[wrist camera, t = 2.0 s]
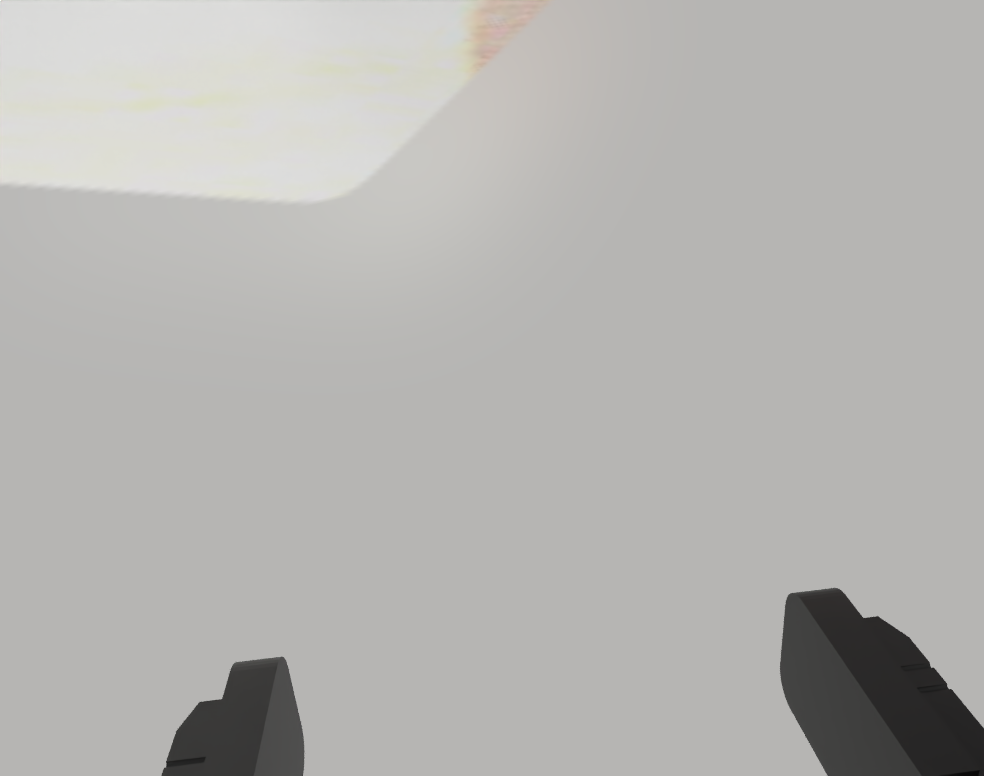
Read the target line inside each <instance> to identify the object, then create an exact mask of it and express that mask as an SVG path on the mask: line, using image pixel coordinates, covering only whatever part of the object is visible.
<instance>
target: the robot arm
mask: <svg viewBox="0 0 984 776" xmlns="http://www.w3.org/2000/svg"><path fill="white" fill-rule="evenodd" d="M780 674H781V682H782V686H783V690H784V694H785V697H786V700H787V702H788V705H789V707H790V709H791V711H792V713H793V714H794V716H795V718H796V720H797V721H798V723H799V725H800V727H801V729H802V730H803V732H804V734H805V736H806V738H807V739H808V741H809V743H810V745H811V747H812V748H813V750H814V752H815V754H816V756H817V757H818V759H819V761H820V763H821V764H822V766H823V768H824V770H825V772H826V773H827V775H828V776H984V728H983V727H982V726H981V725H980V723H979V722H978V721H977V720H976V719H975V717H974V716H973V715H972V714H971V712H970V711H969V710H968V709H967V707H966V706H965V705H964V704H963V703H962V701H961V700H960V699H959V698H958V697H957V695H956V694H955V693H954V692H953V690H951V689H948V687H947V683H946V682H945V681H944V680H943V678H942V677H941V676H940V675H939V673H938V672H937V671H936V670H935V669H934V668H931V667H930V663H929V661H928V660H927V659H926V657H925V656H924V655H923V654H922V653H921V651H920V650H919V649H918V648H917V647H916V645H915V644H914V643H913V642H912V640H911V639H910V638H909V637H908V636H906V635H905V634H903V633H902V632H900V631H899V630H897V629H896V628H894V627H893V626H891V625H890V624H888V623H887V622H885V621H884V620H882V619H881V618H879V617H878V616H877V617H870V618H863V617H862V616H861V615H860V613H859V612H858V611H857V609H856V608H855V607H854V606H853V604H852V603H851V602H850V600H849V599H848V598H847V596H846V595H845V594H844V593H843V592H842V591H841V590H840V589H838V588H831V589H822V590H814V591H806V592H797V593H791V594H789V595H788V597H787V600H786V605H785V617H784V628H783V639H782V650H781V662H780ZM166 763H167V766H166V768H164V770H163V773H162V776H303V770H304V739H303V732H302V726H301V722H300V717H299V713H298V709H297V704H296V700H295V696H294V691H293V687H292V683H291V678H290V674H289V669H288V666H287V662H286V660H285V659H284V657H276V658H268V659H260V660H252V661H244V662H236V663H234V664H233V666H232V668H231V671H230V674H229V677H228V681H227V685H226V688H225V692H224V695H223V698H222V699H221V700H212V701H204V702H200V703H199V704H198V705H197V706H196V707H195V709H194V710H193V711H192V712H191V714H190V715H189V716H188V717H187V719H186V720H185V721H184V722H183V723H182V725H181V726H180V727H179V729H178V730H177V731H176V734H175V737H174V740H173V743H172V746H171V749H170V752H169V755H168V758H167V761H166Z"/></svg>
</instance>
